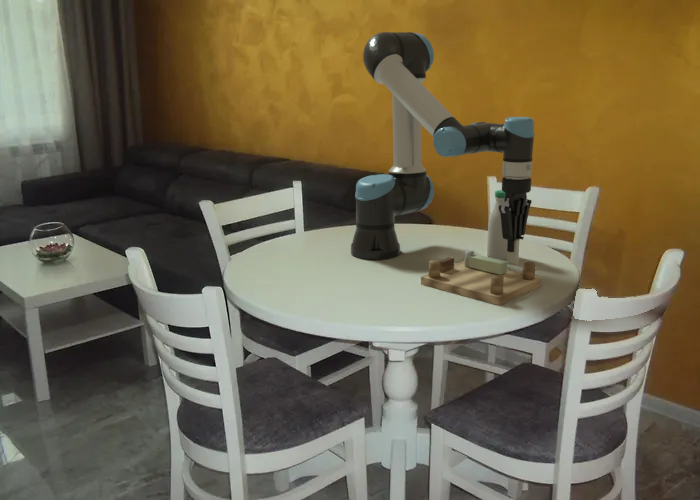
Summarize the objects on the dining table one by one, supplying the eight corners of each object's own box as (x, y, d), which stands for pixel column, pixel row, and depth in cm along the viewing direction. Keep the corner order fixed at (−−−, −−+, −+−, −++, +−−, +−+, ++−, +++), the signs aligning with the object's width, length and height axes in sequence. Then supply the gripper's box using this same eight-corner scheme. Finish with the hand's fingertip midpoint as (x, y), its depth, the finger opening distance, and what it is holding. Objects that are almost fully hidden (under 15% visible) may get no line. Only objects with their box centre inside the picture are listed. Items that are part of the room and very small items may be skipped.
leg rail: (462, 266, 185) (462, 252, 184) (468, 263, 187) (468, 249, 186) (500, 275, 177) (501, 260, 175) (506, 272, 179) (507, 258, 177)
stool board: (420, 284, 177) (421, 262, 176) (465, 267, 191) (465, 246, 189) (499, 305, 161) (500, 281, 159) (541, 285, 175) (543, 263, 173)
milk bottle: (513, 261, 196) (517, 194, 190) (486, 260, 197) (489, 193, 192) (513, 254, 203) (516, 189, 197) (487, 253, 204) (489, 188, 199)
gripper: (516, 181, 170) (511, 270, 177) (542, 175, 179) (536, 259, 186) (490, 178, 175) (487, 265, 182) (517, 172, 184) (513, 254, 191)
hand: (512, 262), depth 184 cm, fingers closed
